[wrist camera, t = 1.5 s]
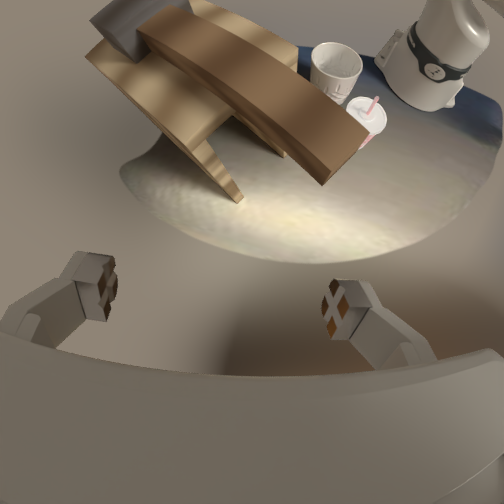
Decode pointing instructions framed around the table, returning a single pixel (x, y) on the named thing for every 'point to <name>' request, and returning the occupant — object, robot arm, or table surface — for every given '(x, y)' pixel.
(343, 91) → the white cup
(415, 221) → the table surface
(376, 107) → the beverage cup
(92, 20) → the mallet
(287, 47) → the stand
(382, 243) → the table surface
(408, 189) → the table surface
